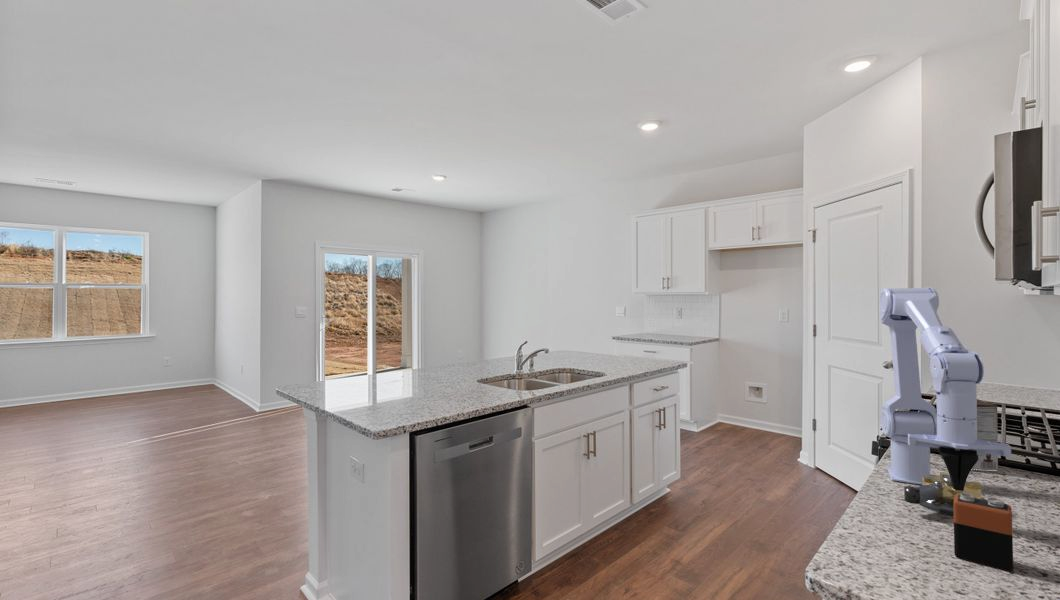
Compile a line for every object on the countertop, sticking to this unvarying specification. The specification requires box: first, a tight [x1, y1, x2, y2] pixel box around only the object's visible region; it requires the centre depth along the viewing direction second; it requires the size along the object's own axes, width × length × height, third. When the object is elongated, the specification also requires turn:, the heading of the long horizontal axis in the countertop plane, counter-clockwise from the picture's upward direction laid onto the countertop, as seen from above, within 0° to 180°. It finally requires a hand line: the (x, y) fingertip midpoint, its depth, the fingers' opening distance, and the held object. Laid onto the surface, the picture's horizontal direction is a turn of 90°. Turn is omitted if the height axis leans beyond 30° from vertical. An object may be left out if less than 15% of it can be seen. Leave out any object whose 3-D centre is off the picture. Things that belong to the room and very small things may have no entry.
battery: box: [953, 493, 1014, 572], centre depth 78 cm, size 4×7×10 cm, turn 47°
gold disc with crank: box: [903, 472, 983, 505], centre depth 97 cm, size 17×9×4 cm, turn 110°
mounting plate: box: [919, 497, 987, 517], centre depth 99 cm, size 12×12×2 cm
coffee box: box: [972, 398, 999, 472], centre depth 121 cm, size 9×6×16 cm
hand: (957, 488), depth 92 cm, fingers closed
